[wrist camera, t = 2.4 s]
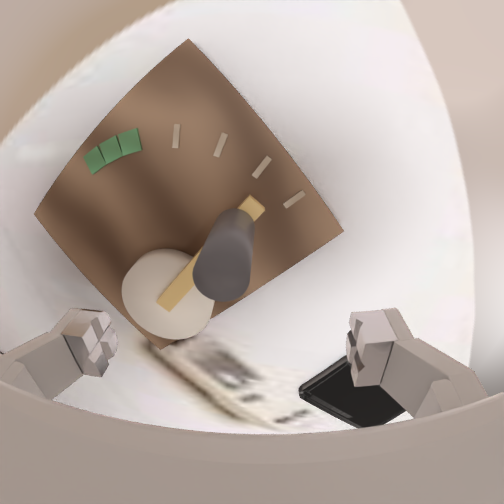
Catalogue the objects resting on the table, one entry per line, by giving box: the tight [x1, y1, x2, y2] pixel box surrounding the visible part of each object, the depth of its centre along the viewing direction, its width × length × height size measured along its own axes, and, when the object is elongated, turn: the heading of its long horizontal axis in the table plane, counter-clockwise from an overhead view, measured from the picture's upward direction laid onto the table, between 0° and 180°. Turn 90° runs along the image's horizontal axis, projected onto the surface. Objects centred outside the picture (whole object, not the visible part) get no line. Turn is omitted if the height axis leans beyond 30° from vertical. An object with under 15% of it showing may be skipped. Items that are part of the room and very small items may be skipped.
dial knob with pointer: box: [122, 195, 265, 339], centre depth 18 cm, size 14×7×8 cm, turn 138°
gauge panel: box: [34, 38, 344, 350], centre depth 21 cm, size 19×17×2 cm
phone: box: [299, 355, 406, 428], centre depth 30 cm, size 8×1×15 cm
